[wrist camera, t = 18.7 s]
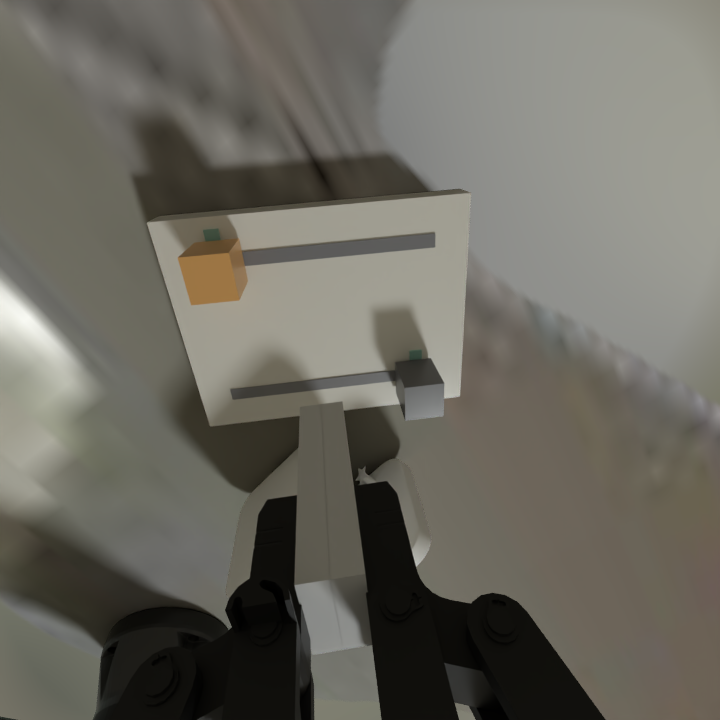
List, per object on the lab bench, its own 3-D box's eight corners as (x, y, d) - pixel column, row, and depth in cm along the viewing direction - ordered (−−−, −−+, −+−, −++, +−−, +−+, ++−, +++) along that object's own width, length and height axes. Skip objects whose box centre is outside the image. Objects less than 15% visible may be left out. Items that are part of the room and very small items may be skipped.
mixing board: (216, 409, 38) (209, 427, 35) (158, 216, 29) (145, 222, 27) (451, 381, 39) (460, 397, 37) (459, 188, 31) (471, 193, 28)
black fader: (395, 392, 35) (405, 420, 32) (395, 362, 34) (404, 388, 30) (430, 388, 35) (443, 415, 32) (430, 358, 34) (444, 383, 30)
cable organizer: (336, 404, 39) (345, 498, 29) (411, 457, 43) (442, 556, 33) (240, 496, 43) (218, 607, 33) (317, 536, 47) (319, 646, 37)
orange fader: (205, 285, 29) (191, 305, 26) (194, 242, 28) (177, 257, 24) (248, 281, 29) (239, 300, 26) (239, 238, 28) (228, 252, 24)
